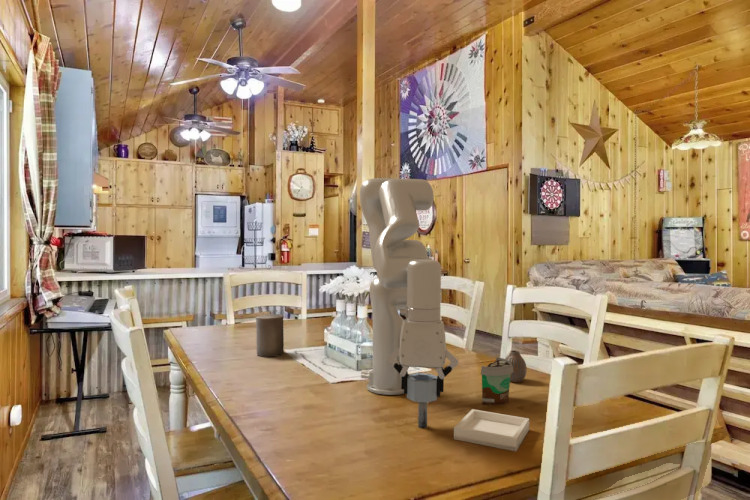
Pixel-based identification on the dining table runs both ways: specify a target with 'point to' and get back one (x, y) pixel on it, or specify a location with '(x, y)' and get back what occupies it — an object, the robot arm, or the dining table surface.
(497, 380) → the food container
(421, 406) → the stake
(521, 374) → the vase
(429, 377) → the ring
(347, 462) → the dining table surface
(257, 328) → the pillar candle
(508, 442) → the tray
